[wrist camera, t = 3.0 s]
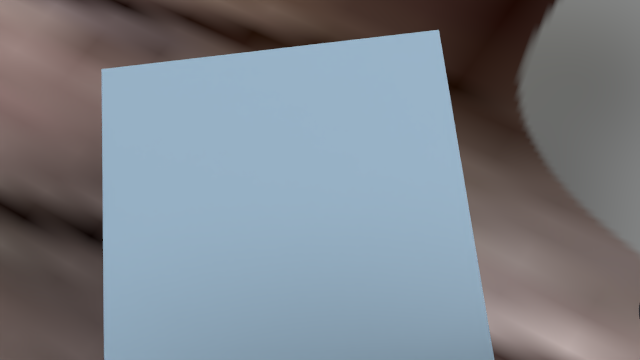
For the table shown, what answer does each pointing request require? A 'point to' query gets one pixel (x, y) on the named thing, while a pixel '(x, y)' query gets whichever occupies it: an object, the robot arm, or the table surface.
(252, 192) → the dusty blue block
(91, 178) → the table surface
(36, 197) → the table surface
